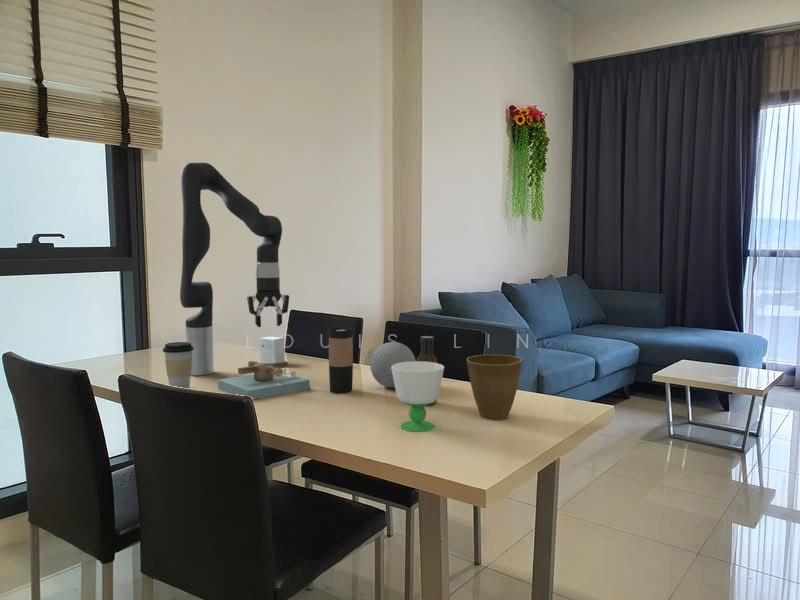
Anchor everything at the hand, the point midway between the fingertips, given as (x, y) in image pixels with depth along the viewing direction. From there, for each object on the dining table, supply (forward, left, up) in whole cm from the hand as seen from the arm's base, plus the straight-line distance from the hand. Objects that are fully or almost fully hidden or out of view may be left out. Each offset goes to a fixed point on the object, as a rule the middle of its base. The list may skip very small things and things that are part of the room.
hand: (268, 326), depth 206 cm
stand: (+5, -5, -20) cm, 21 cm away
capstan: (+6, -5, -16) cm, 18 cm away
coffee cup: (-12, -26, -20) cm, 35 cm away
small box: (-29, +18, -20) cm, 39 cm away
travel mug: (+24, +12, -20) cm, 33 cm away
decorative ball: (+31, +28, -20) cm, 46 cm away
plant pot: (+75, +26, -20) cm, 82 cm away
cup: (+68, +4, -20) cm, 71 cm away
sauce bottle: (+53, +22, -20) cm, 61 cm away
